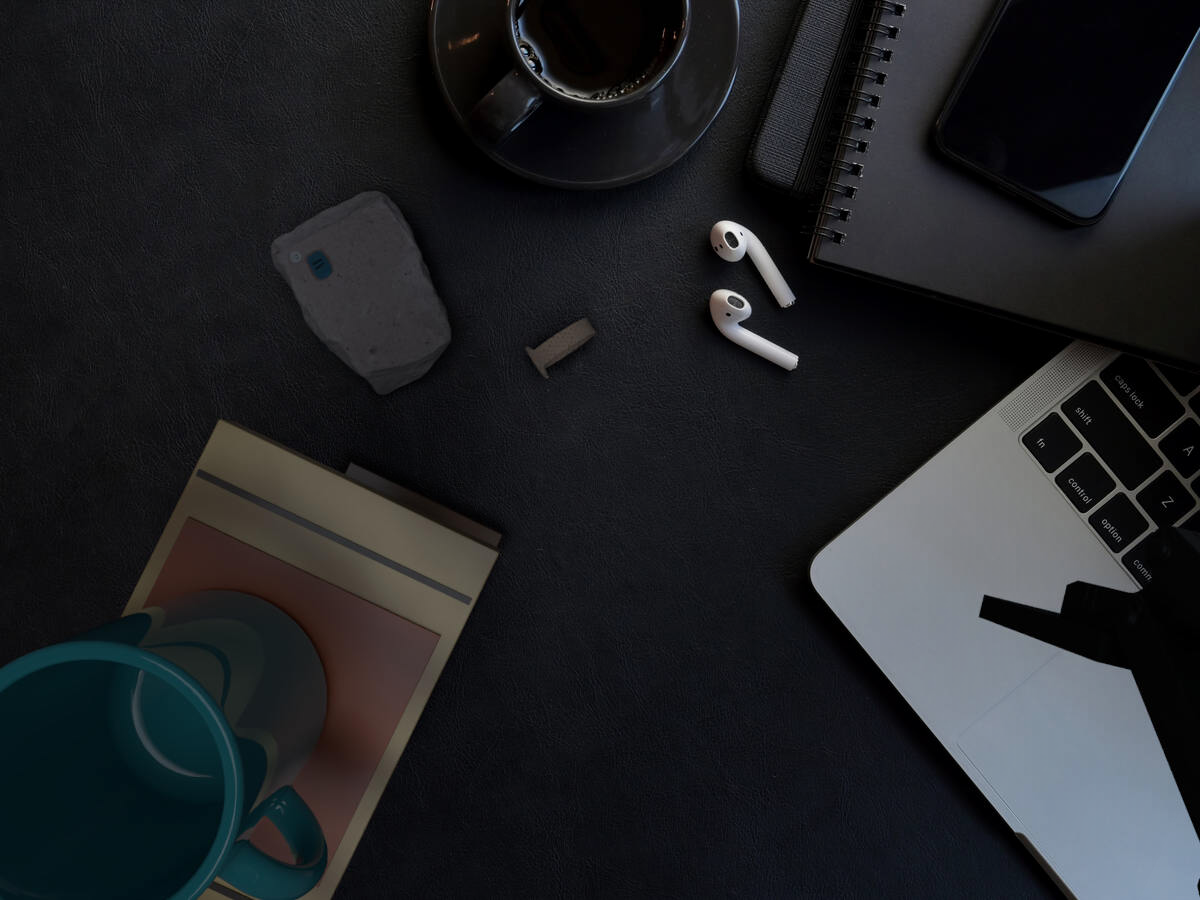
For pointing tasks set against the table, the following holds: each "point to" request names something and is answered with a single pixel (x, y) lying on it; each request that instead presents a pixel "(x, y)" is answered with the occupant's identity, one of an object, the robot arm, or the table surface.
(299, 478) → the board
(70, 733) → the cup
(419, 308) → the decorative stone
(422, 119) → the table surface
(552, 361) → the flanged peg
